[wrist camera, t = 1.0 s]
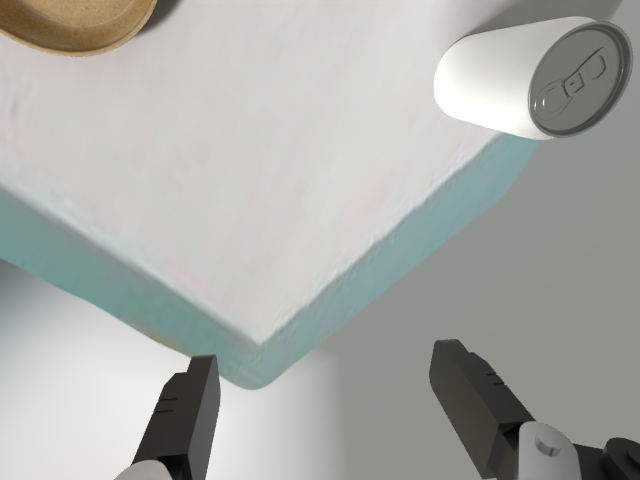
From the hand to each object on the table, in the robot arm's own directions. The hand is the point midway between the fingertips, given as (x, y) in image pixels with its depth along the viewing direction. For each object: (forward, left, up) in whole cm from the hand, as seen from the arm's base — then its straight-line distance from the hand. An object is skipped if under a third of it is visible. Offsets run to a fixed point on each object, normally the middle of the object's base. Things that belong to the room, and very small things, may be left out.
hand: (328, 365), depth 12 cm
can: (-14, +10, -22) cm, 28 cm away
